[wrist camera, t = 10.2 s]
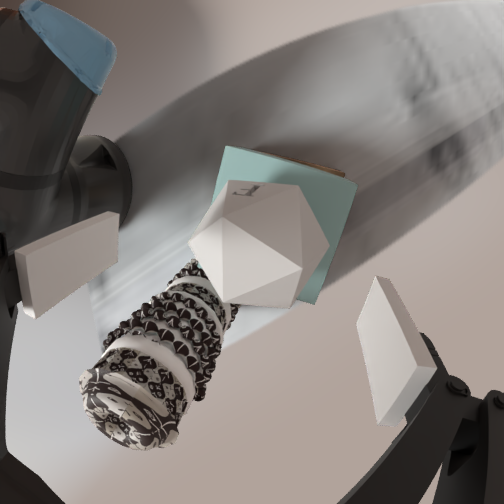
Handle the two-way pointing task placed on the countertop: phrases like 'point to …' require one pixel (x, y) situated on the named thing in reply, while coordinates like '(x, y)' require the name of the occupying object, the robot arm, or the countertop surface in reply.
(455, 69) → the countertop surface
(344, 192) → the tower top
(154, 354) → the decorative candle
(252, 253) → the die
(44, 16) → the robot arm
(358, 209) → the countertop surface
